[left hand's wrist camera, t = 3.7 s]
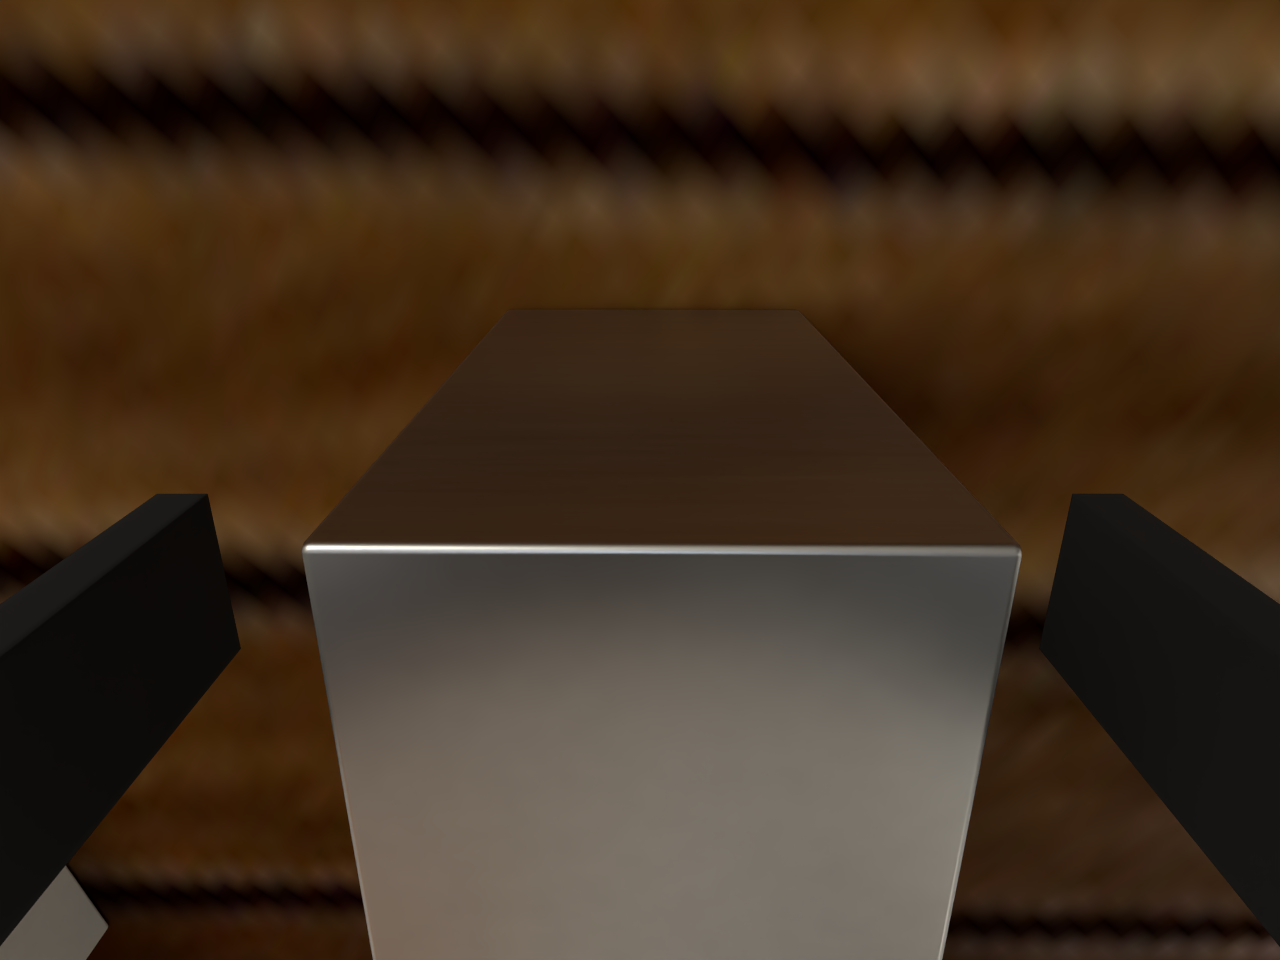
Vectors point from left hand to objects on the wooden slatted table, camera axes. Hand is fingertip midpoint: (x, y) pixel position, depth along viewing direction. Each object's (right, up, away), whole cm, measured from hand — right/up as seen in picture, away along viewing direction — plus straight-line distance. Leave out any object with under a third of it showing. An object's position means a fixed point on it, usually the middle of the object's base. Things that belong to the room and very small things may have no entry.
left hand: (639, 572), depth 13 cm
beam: (0, -8, +6) cm, 10 cm away
